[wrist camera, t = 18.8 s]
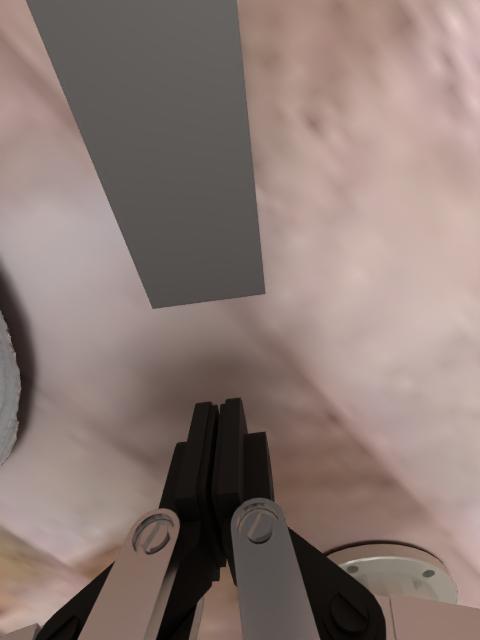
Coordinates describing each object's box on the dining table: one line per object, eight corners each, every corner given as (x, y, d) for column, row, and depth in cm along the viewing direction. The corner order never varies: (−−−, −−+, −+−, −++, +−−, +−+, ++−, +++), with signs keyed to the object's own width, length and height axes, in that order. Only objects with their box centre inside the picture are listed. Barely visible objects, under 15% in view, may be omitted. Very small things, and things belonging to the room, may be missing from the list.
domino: (265, 293, 14) (230, -61, 7) (153, 308, 14) (18, -20, 7) (261, 268, 15) (228, -43, 9) (159, 283, 15) (52, -9, 9)
